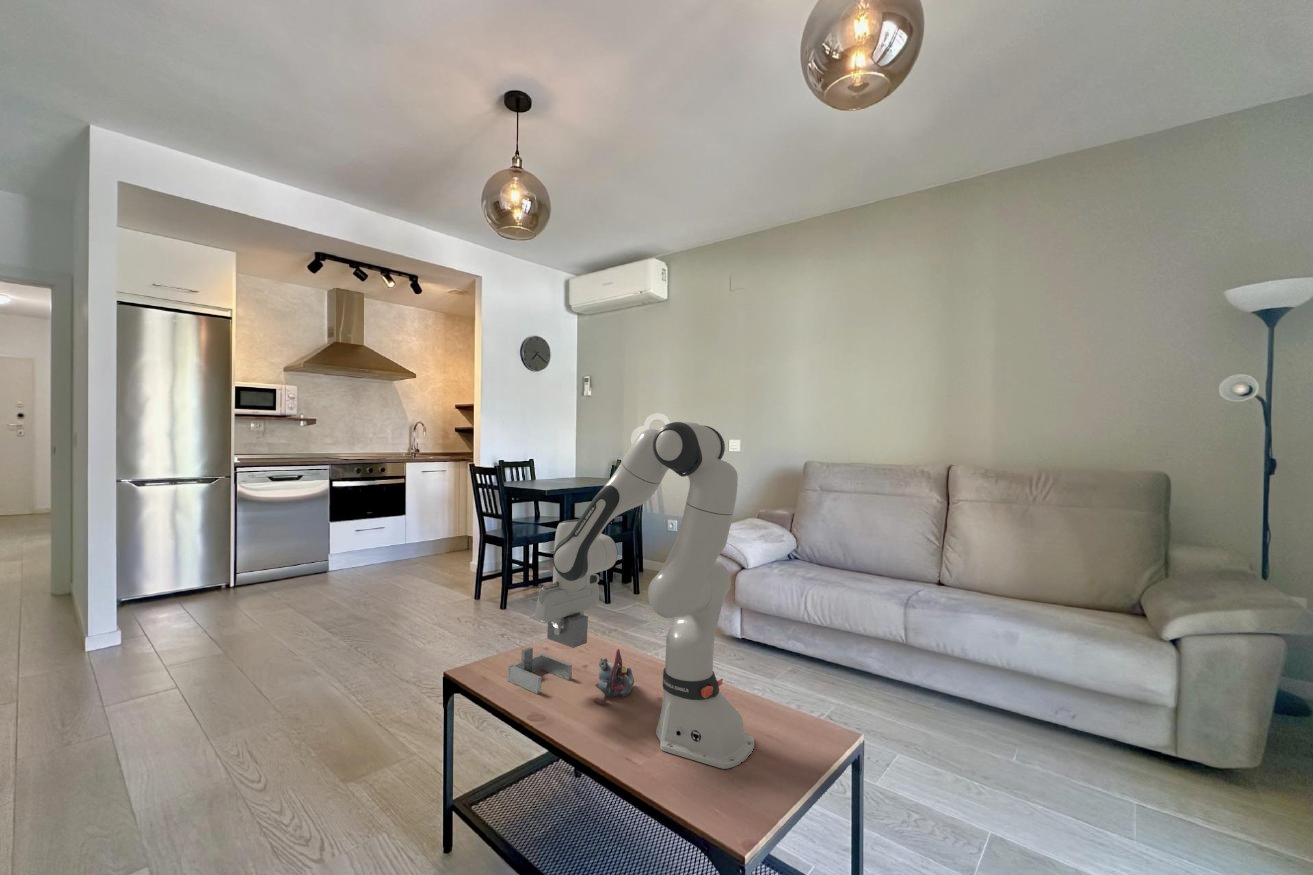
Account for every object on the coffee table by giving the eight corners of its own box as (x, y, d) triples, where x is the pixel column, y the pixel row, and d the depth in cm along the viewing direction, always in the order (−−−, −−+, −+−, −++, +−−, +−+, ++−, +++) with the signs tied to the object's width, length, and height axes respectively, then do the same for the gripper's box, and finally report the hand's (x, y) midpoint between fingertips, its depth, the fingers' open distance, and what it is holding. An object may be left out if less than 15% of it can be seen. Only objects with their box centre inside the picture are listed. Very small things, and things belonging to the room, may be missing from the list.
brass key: (627, 671, 154) (627, 666, 154) (624, 676, 151) (624, 671, 151) (603, 668, 156) (604, 663, 156) (600, 673, 153) (600, 668, 153)
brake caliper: (638, 693, 135) (611, 653, 136) (603, 716, 136) (578, 676, 137) (644, 675, 146) (620, 638, 148) (613, 696, 147) (589, 659, 149)
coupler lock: (586, 642, 140) (588, 613, 140) (573, 647, 136) (574, 617, 136) (560, 633, 146) (562, 605, 146) (547, 638, 142) (548, 609, 142)
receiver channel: (571, 678, 148) (572, 653, 148) (537, 693, 138) (538, 667, 138) (541, 666, 155) (542, 642, 156) (507, 680, 146) (508, 654, 146)
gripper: (548, 588, 131) (545, 644, 131) (603, 575, 148) (601, 624, 147) (531, 583, 135) (529, 638, 135) (587, 571, 151) (585, 619, 151)
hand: (567, 630), depth 141 cm, fingers closed on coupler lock, 5 cm apart
